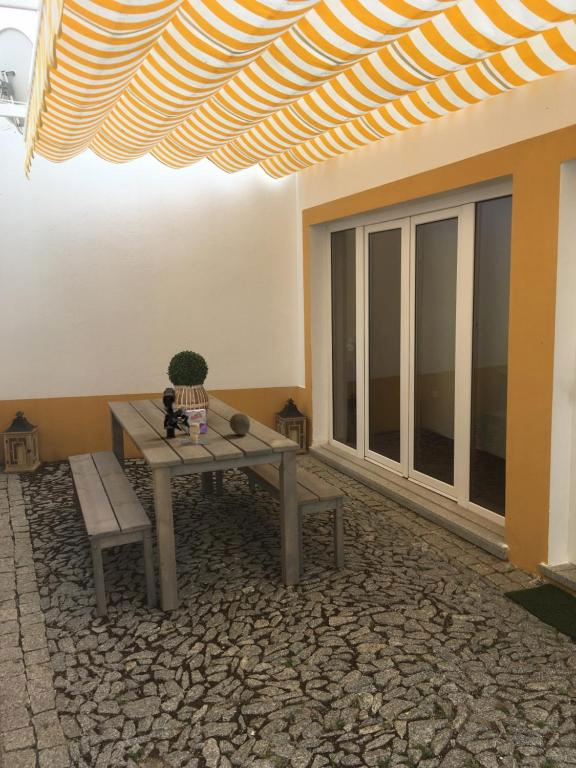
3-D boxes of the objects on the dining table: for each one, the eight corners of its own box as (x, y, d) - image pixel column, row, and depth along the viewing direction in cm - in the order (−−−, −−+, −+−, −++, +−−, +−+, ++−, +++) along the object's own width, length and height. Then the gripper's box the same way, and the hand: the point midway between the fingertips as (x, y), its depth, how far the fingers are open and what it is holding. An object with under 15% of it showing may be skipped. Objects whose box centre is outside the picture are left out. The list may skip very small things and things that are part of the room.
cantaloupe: (250, 432, 451) (249, 411, 449) (250, 436, 437) (249, 415, 435) (230, 433, 450) (229, 412, 448) (229, 437, 436) (228, 416, 434)
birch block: (194, 441, 427) (193, 423, 425) (199, 441, 425) (199, 423, 423) (190, 442, 422) (189, 424, 421) (196, 443, 421) (195, 425, 419)
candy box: (187, 434, 447) (186, 411, 445) (185, 433, 452) (184, 410, 450) (207, 432, 452) (206, 409, 450) (205, 431, 457) (204, 408, 455)
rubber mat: (181, 441, 429) (181, 440, 429) (208, 439, 432) (208, 438, 432) (182, 445, 415) (182, 445, 415) (210, 444, 419) (210, 443, 419)
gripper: (169, 406, 417) (184, 424, 414) (186, 401, 434) (200, 418, 431) (160, 417, 422) (175, 435, 419) (177, 412, 438) (191, 429, 435)
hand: (186, 429), depth 426 cm, fingers open, 9 cm apart
